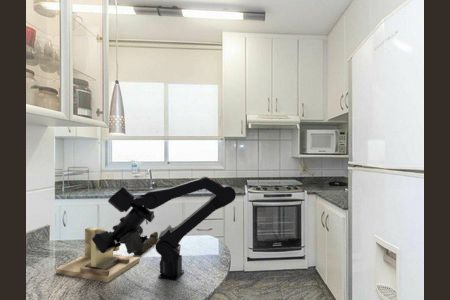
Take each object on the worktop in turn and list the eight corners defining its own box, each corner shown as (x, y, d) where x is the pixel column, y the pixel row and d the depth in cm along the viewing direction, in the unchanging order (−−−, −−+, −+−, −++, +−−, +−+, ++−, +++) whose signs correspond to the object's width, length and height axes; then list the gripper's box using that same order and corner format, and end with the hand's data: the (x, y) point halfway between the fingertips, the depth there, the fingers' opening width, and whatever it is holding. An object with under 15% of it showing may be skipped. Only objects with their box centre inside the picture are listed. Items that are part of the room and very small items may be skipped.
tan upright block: (125, 258, 91) (125, 230, 92) (101, 272, 80) (101, 240, 81) (110, 256, 93) (110, 229, 94) (85, 269, 82) (85, 238, 83)
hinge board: (139, 261, 92) (139, 229, 93) (108, 282, 77) (108, 244, 77) (93, 255, 99) (94, 225, 99) (56, 273, 83) (56, 237, 84)
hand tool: (141, 256, 98) (141, 244, 98) (132, 255, 99) (132, 244, 99) (163, 240, 116) (163, 231, 116) (155, 240, 117) (155, 230, 117)
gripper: (128, 249, 70) (97, 282, 73) (162, 231, 88) (136, 258, 91) (106, 220, 73) (77, 253, 76) (144, 208, 91) (119, 235, 94)
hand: (105, 250), depth 84 cm, fingers closed
